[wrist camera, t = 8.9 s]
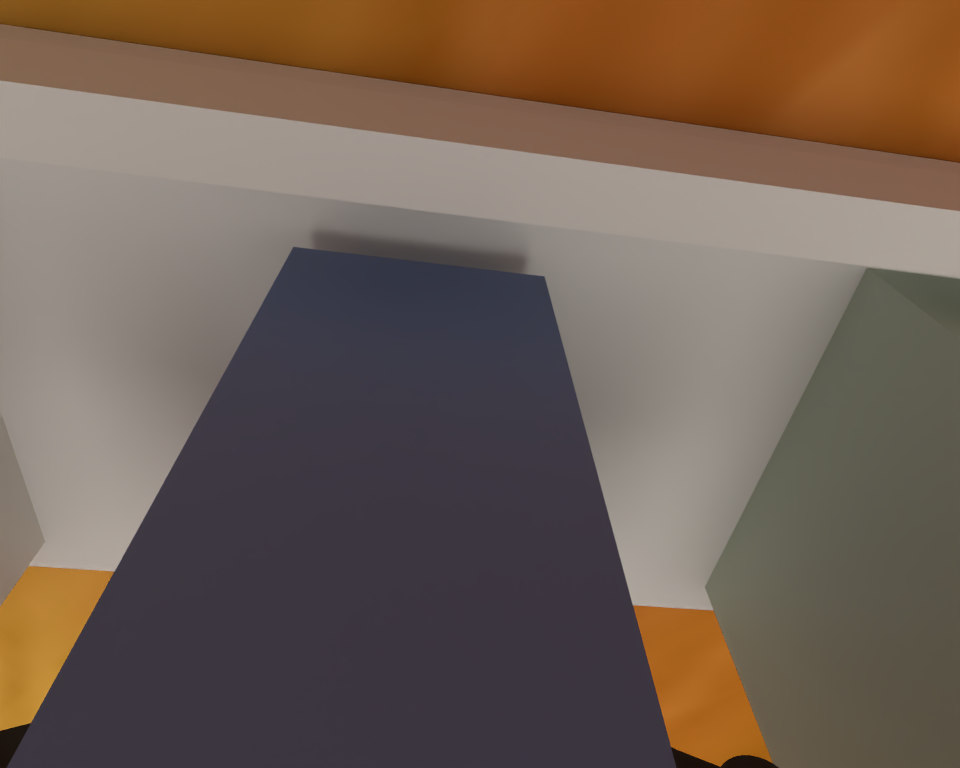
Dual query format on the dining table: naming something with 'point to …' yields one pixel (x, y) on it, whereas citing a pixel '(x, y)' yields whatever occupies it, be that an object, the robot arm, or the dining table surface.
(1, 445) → the ivory book
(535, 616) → the navy book
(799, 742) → the sage book
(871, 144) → the dining table surface
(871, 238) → the shelf board
